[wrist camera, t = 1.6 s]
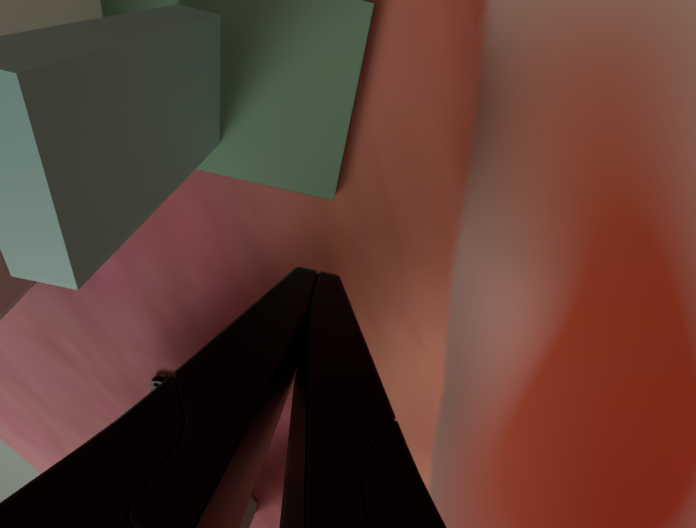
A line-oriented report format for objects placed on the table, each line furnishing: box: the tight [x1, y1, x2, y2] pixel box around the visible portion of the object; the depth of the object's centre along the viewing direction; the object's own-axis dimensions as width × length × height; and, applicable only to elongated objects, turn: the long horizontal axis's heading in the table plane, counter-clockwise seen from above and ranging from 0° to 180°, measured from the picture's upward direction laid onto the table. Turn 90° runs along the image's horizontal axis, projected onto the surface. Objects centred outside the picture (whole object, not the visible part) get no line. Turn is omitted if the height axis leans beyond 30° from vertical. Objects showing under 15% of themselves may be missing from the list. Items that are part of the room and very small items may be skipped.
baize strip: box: [100, 0, 375, 200], centre depth 16 cm, size 8×26×1 cm, turn 78°
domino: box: [0, 4, 221, 290], centre depth 12 cm, size 5×2×10 cm, turn 169°
